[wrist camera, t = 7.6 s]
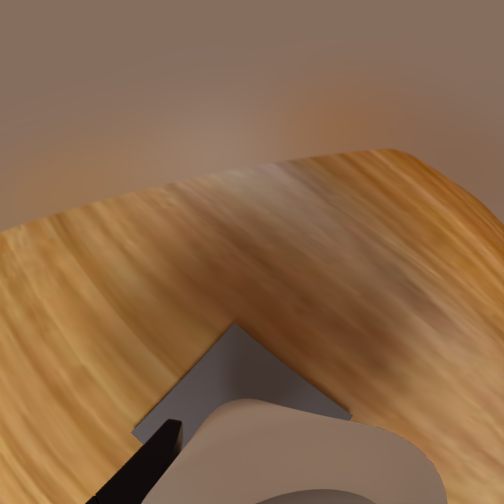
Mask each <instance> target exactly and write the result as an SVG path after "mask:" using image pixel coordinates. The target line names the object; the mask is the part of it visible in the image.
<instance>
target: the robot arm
mask: <svg viewBox="0 0 504 504" xmlns="http://www.w3.org/2000/svg"><path fill="white" fill-rule="evenodd" d="M182 444H183V423H182V421H180V420H175V419H167V420H166V421H165V422H164V423H163V424H162V426H161V427H160V428H159V429H158V430H157V431H156V432H155V433H154V434H153V435H152V436H151V437H150V438H149V439H148V440H147V442H146V443H145V444H144V445H143V446H142V447H141V448H140V449H139V450H138V451H137V452H136V453H135V454H134V455H133V456H132V457H131V458H130V459H129V460H128V461H127V462H126V463H125V464H124V466H123V467H122V468H121V469H120V470H119V471H118V472H117V473H116V474H115V475H114V476H113V477H112V478H111V479H110V480H109V481H108V482H107V483H106V484H105V485H104V486H103V487H102V488H101V489H100V490H99V491H98V492H97V493H96V494H95V495H96V496H92V497H91V498H90V499H89V500H88V501H87V502H86V503H85V504H141V503H142V502H143V500H144V499H145V497H146V496H147V494H148V493H149V492H150V491H151V489H152V488H153V487H154V486H155V484H156V483H157V482H158V481H159V479H160V478H161V477H162V476H163V474H164V473H165V472H166V471H167V469H168V468H169V467H170V465H171V464H172V463H173V462H174V460H175V459H176V458H177V456H178V455H179V454H180V453H181V450H182Z"/></svg>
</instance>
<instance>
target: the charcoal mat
mask: <svg viewBox="0 0 504 504" xmlns="http://www.w3.org/2000/svg"><path fill="white" fill-rule="evenodd" d="M239 399H257V400H262V401H265V402H269V403H273V404H276V405H280V406H284V407H288V408H292V409H296V410H300V411H304V412H309V413H313V414H318V415H322V416H327V417H332V418H337V419H342V420H347V421H349V420H350V419H351V418H352V415H351V414H350V413H348V412H347V411H346V410H344V409H343V408H341V407H340V406H339V405H337V404H336V403H335V402H333V401H332V400H331V399H329V398H328V397H327V396H325V395H324V394H323V393H322V392H320V391H319V390H318V389H316V388H315V387H314V386H312V385H311V384H310V383H309V382H307V381H306V380H305V379H303V378H302V377H301V376H300V375H298V374H297V373H296V372H294V371H293V370H292V369H291V368H289V367H288V366H287V365H286V364H284V363H283V362H282V361H281V360H279V359H278V358H277V357H276V356H274V355H273V354H272V353H271V352H270V351H268V350H267V349H266V348H265V347H263V346H262V345H261V344H260V343H259V342H257V341H256V340H255V339H254V338H253V337H251V336H250V335H249V334H248V333H247V332H245V331H244V330H243V329H242V328H241V327H239V326H238V325H237V324H236V323H234V324H233V325H232V326H231V327H230V328H229V329H228V330H227V331H226V333H225V334H224V335H223V336H222V337H221V338H220V339H219V340H218V341H217V342H216V343H215V345H214V346H213V347H212V348H211V349H210V350H209V351H208V352H207V353H206V354H205V355H204V356H203V358H202V359H201V360H200V361H199V362H198V363H197V364H196V365H195V366H194V367H193V368H192V369H191V370H190V372H189V373H188V374H187V375H186V376H185V377H184V378H183V379H182V380H181V381H180V382H179V383H178V384H177V385H176V386H175V387H174V389H173V390H172V391H171V392H170V393H169V394H168V395H167V396H166V397H165V398H164V399H163V400H162V401H161V402H160V403H159V404H158V405H157V406H156V407H155V408H154V409H153V410H152V411H151V413H150V414H149V415H148V416H147V417H146V418H145V419H144V420H143V421H142V422H141V423H140V424H139V425H138V426H137V427H136V428H135V429H134V430H133V431H132V432H131V433H132V434H133V435H134V436H135V437H136V438H137V439H138V440H139V441H140V442H142V443H143V444H145V443H146V442H147V440H148V439H149V438H150V437H151V436H152V435H153V434H154V433H155V432H156V431H157V430H158V429H159V428H160V427H161V426H162V424H163V423H164V422H165V421H166V420H167V419H175V420H180V421H182V423H183V444H182V450H183V449H184V447H185V446H186V445H187V443H188V442H189V441H190V439H191V438H192V437H193V435H194V434H195V433H196V431H197V430H198V429H199V427H200V426H201V425H202V423H203V422H204V421H205V419H206V418H207V417H208V416H209V415H210V414H211V413H212V412H213V411H214V410H215V409H217V408H218V407H220V406H221V405H223V404H225V403H228V402H230V401H234V400H239ZM182 450H181V451H182Z"/></svg>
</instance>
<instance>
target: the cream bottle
mask: <svg viewBox="0 0 504 504" xmlns="http://www.w3.org/2000/svg"><path fill="white" fill-rule="evenodd" d="M141 504H447V498H446V492H445V488H444V485H443V483H442V480H441V477H440V475H439V473H438V472H437V470H436V468H435V467H434V465H433V463H432V462H431V461H430V460H429V459H428V458H427V457H426V455H425V454H424V453H423V452H422V451H421V450H419V449H418V448H417V447H416V446H414V445H413V444H412V443H411V442H409V441H407V440H405V439H404V438H402V437H400V436H398V435H397V434H395V433H392V432H389V431H387V430H384V429H381V428H379V427H375V426H371V425H366V424H362V423H358V422H353V421H347V420H342V419H337V418H332V417H327V416H322V415H318V414H313V413H309V412H304V411H300V410H296V409H292V408H288V407H284V406H280V405H276V404H273V403H269V402H265V401H262V400H257V399H239V400H234V401H230V402H228V403H225V404H223V405H221V406H220V407H218V408H217V409H215V410H214V411H213V412H212V413H211V414H210V415H209V416H208V417H207V418H206V419H205V421H204V422H203V423H202V425H201V426H200V427H199V429H198V430H197V431H196V433H195V434H194V435H193V437H192V438H191V439H190V441H189V442H188V443H187V445H186V446H185V447H184V449H183V450H182V451H181V453H180V454H179V455H178V456H177V458H176V459H175V460H174V462H173V463H172V464H171V465H170V467H169V468H168V469H167V471H166V472H165V473H164V474H163V476H162V477H161V478H160V479H159V481H158V482H157V483H156V484H155V486H154V487H153V488H152V489H151V491H150V492H149V493H148V494H147V496H146V497H145V499H144V500H143V502H142V503H141Z"/></svg>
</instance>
